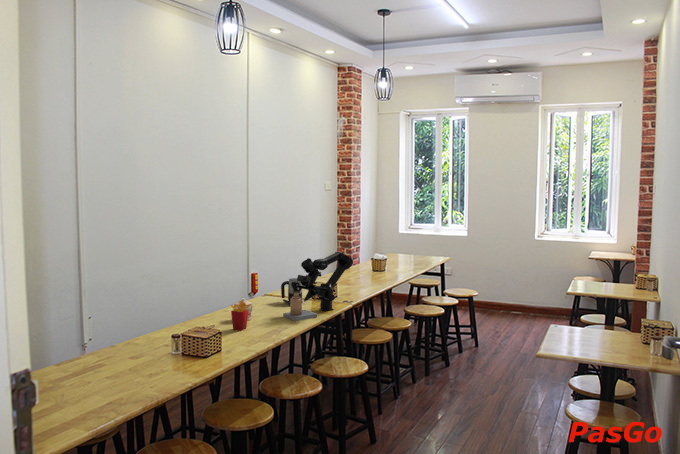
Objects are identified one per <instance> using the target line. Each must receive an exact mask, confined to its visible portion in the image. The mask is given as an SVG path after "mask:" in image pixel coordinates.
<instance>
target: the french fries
mask: <svg viewBox="0 0 680 454" xmlns="http://www.w3.org/2000/svg"><path fill="white" fill-rule="evenodd" d="M236 306H237V307H238V309H237V308H236ZM249 306H250V304H249V305H247V304H246V303H245V302H244V301H241V302H240V303H239V306H238V305H235V304H230V307H231V308H232V309H233V310H231V311H230V313H231V322H232V329H233V331H240V332H241V331H245V330H246V329H247V326H248V321H247V318H248V310H246V308H248V307H249ZM241 307H242V309H241Z"/></svg>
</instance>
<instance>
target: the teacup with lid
mask: <svg viewBox="0 0 680 454" xmlns="http://www.w3.org/2000/svg"><path fill="white" fill-rule="evenodd" d="M241 301H244V302H245V303H246V304H247V305H249V304H250V306H249V307H248V308H246V310H248V318H247V322H248V321H250V320H252V311H253V305H252V302H251V301H248V300H246V298H244V297H242V298H241V300H239V301H237V302H235V305H238V306H239V303H240V302H241ZM236 308H237V309H238V307H237V306H236ZM241 309H242V307H241Z"/></svg>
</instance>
